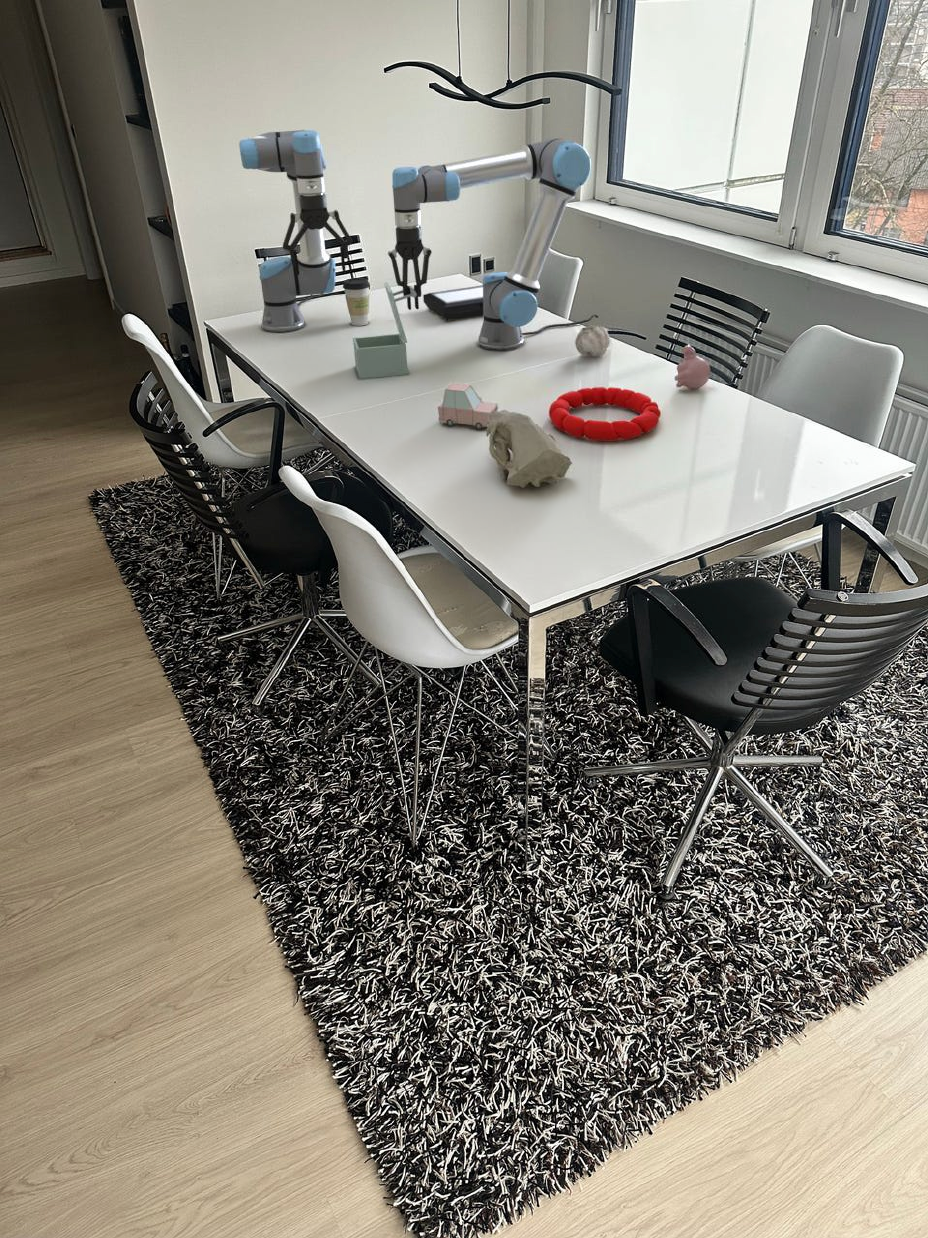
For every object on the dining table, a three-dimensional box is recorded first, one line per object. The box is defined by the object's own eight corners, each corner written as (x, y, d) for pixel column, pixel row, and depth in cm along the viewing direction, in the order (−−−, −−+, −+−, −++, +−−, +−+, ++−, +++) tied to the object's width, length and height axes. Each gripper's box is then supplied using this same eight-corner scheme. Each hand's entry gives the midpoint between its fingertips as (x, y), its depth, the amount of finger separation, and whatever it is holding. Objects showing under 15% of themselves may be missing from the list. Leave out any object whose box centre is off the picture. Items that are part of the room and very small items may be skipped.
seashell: (565, 355, 290) (566, 324, 284) (602, 347, 296) (604, 317, 290) (583, 364, 283) (584, 332, 277) (621, 355, 288) (623, 324, 283)
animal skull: (496, 517, 219) (521, 479, 201) (463, 429, 225) (484, 384, 207) (557, 503, 225) (586, 465, 206) (523, 417, 231) (549, 373, 212)
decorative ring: (589, 435, 224) (684, 402, 234) (527, 398, 247) (617, 369, 256) (589, 461, 229) (683, 427, 238) (529, 422, 251) (617, 393, 260)
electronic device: (443, 305, 321) (423, 292, 336) (444, 322, 324) (424, 309, 339) (522, 293, 331) (499, 281, 346) (522, 310, 334) (499, 297, 350)
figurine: (665, 387, 264) (669, 347, 257) (693, 380, 268) (698, 340, 261) (686, 396, 257) (690, 355, 250) (714, 388, 262) (720, 348, 255)
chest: (359, 379, 278) (356, 349, 273) (355, 367, 287) (352, 337, 282) (407, 374, 280) (405, 344, 275) (402, 362, 290) (400, 333, 284)
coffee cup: (372, 326, 323) (368, 283, 314) (345, 327, 323) (340, 284, 315) (374, 318, 331) (371, 276, 322) (348, 319, 331) (344, 277, 323)
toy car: (488, 432, 240) (488, 396, 234) (436, 426, 244) (434, 390, 239) (499, 419, 247) (499, 384, 241) (448, 413, 252) (447, 379, 246)
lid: (389, 292, 265) (414, 284, 265) (384, 282, 275) (408, 274, 275) (404, 343, 275) (428, 335, 275) (398, 332, 284) (422, 324, 284)
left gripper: (267, 198, 247) (279, 278, 259) (357, 192, 251) (364, 271, 263) (267, 194, 253) (278, 272, 265) (354, 188, 257) (361, 265, 269)
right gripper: (385, 230, 257) (391, 313, 271) (435, 226, 260) (438, 309, 273) (381, 225, 263) (387, 306, 277) (430, 221, 266) (434, 302, 279)
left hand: (321, 271), depth 264 cm, fingers open, 13 cm apart
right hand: (413, 307), depth 275 cm, fingers closed on lid, 2 cm apart
